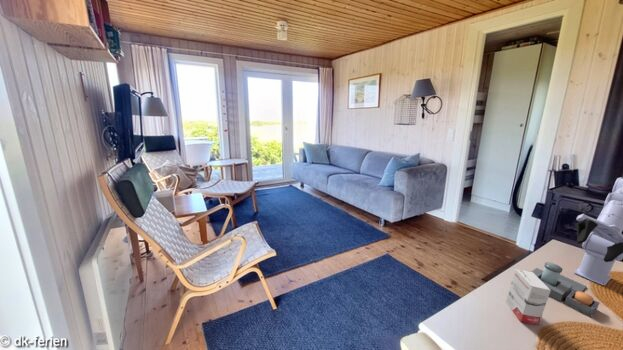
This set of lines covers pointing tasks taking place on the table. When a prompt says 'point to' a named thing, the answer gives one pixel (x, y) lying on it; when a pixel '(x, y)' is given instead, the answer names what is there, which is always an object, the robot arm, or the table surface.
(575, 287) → the slate mat
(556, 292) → the socket block
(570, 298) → the button housing
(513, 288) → the ink box
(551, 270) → the cylinder
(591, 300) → the release button
